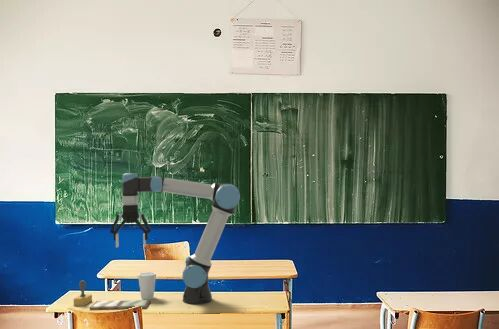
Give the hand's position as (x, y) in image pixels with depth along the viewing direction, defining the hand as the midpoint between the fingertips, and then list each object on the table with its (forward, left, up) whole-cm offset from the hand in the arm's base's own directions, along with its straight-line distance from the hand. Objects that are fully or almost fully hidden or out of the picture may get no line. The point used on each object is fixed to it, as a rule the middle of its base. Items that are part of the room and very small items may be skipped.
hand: (131, 246), depth 275 cm
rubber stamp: (+30, -2, -31) cm, 43 cm away
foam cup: (+3, -21, -31) cm, 37 cm away
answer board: (+8, -3, -31) cm, 32 cm away
